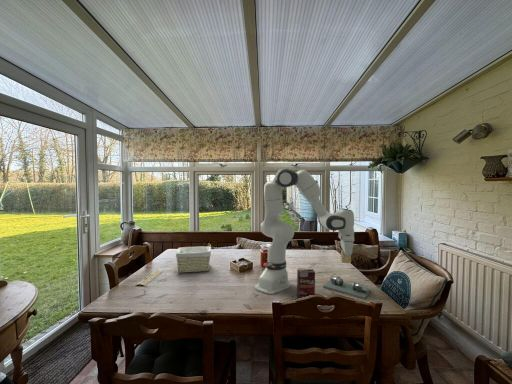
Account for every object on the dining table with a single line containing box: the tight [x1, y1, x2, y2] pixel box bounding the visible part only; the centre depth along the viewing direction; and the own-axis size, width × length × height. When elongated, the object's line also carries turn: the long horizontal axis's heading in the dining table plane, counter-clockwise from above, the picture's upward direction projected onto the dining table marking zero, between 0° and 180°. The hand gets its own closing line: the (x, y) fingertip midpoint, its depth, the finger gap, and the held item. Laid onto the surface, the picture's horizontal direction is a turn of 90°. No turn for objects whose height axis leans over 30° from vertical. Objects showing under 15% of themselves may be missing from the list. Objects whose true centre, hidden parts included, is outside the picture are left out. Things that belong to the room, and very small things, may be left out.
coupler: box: [340, 249, 352, 264], centre depth 141 cm, size 5×4×7 cm
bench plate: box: [322, 279, 371, 300], centre depth 137 cm, size 13×23×1 cm, turn 51°
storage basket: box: [175, 246, 212, 274], centre depth 170 cm, size 24×16×15 cm
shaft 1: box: [329, 275, 345, 286], centre depth 143 cm, size 8×5×4 cm, turn 26°
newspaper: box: [135, 269, 164, 287], centre depth 153 cm, size 24×7×2 cm, turn 176°
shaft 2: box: [351, 281, 369, 293], centre depth 133 cm, size 8×5×4 cm, turn 51°
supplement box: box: [296, 268, 316, 299], centre depth 123 cm, size 9×5×16 cm, turn 93°
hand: (345, 258), depth 141 cm, fingers closed on coupler, 4 cm apart
